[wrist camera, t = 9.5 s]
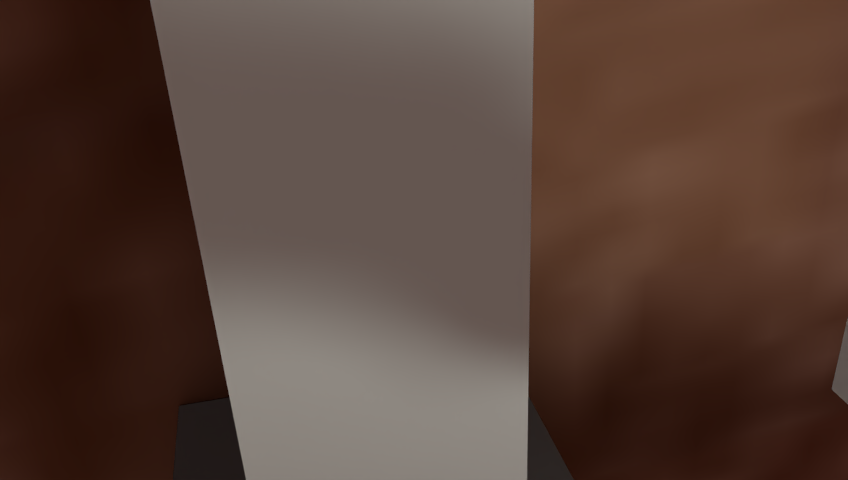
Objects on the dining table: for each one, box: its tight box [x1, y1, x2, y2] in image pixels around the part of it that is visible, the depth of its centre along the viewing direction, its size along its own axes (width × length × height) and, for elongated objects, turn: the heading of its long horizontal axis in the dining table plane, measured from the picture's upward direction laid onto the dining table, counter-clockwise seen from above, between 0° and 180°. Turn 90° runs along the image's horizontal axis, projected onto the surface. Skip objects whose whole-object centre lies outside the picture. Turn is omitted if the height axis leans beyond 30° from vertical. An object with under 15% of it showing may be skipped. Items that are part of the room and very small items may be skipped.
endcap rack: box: [173, 396, 574, 480], centre depth 14 cm, size 22×8×6 cm, turn 3°
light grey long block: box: [150, 0, 534, 480], centre depth 12 cm, size 16×4×6 cm, turn 3°
